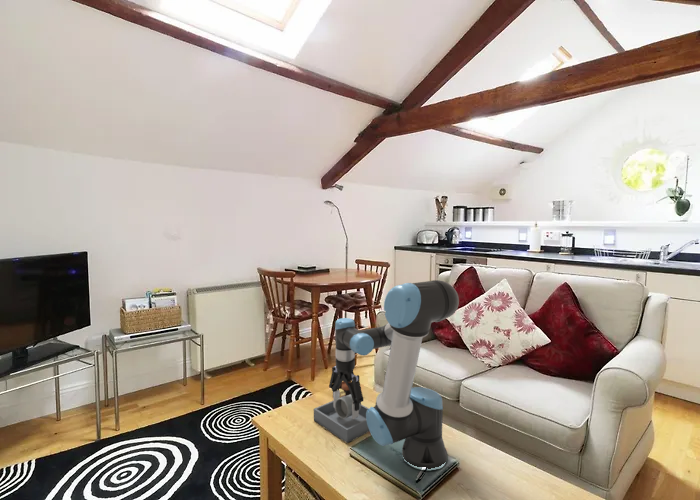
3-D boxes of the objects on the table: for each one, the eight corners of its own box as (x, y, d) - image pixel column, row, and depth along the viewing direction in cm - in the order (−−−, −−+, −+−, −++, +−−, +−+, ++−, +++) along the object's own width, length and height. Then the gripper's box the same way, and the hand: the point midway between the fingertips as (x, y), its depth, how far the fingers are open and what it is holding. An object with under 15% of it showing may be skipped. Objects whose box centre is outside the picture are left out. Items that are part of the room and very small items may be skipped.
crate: (379, 426, 150) (379, 414, 149) (347, 443, 139) (347, 430, 138) (345, 406, 165) (344, 395, 165) (313, 420, 154) (313, 408, 154)
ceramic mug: (362, 413, 151) (362, 395, 150) (348, 421, 145) (347, 402, 145) (344, 405, 158) (343, 387, 158) (329, 412, 153) (329, 393, 152)
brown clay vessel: (336, 403, 169) (332, 383, 173) (339, 402, 178) (335, 384, 181) (362, 396, 169) (357, 377, 172) (364, 396, 178) (360, 378, 181)
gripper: (372, 364, 143) (373, 420, 145) (334, 348, 160) (334, 398, 163) (358, 369, 138) (358, 427, 140) (319, 352, 156) (320, 404, 158)
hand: (345, 411), depth 152 cm, fingers closed on ceramic mug, 11 cm apart
